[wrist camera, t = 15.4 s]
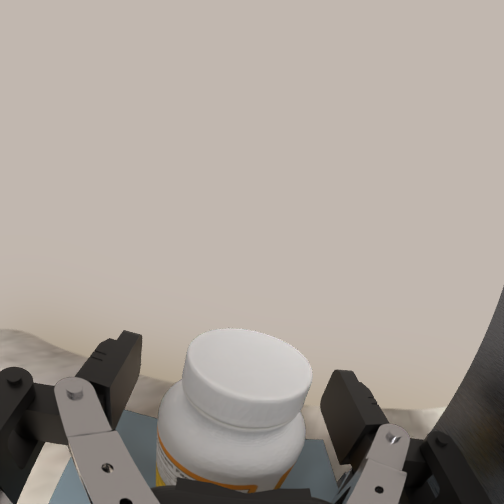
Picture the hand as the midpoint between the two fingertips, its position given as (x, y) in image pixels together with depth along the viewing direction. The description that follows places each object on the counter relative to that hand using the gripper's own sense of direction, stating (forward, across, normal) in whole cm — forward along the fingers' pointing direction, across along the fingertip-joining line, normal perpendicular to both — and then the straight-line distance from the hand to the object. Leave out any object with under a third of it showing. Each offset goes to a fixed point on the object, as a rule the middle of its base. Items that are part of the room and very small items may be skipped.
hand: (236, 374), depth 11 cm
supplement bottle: (-2, 0, +8) cm, 8 cm away
